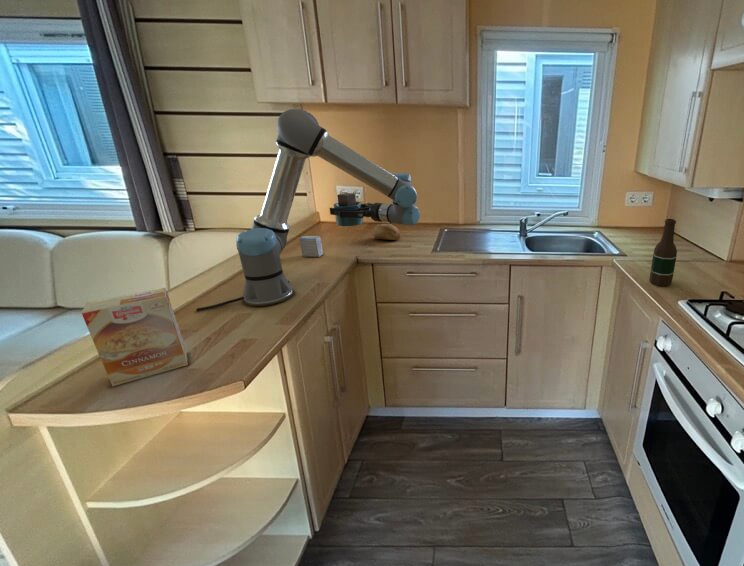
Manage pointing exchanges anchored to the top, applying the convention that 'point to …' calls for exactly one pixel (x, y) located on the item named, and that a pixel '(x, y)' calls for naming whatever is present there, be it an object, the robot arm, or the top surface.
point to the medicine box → (311, 246)
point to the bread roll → (386, 232)
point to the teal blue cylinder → (348, 220)
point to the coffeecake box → (135, 335)
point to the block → (346, 199)
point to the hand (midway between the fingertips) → (340, 208)
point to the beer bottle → (664, 257)
